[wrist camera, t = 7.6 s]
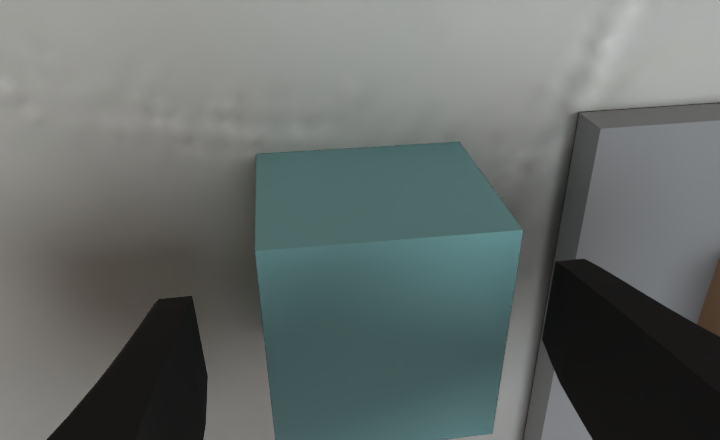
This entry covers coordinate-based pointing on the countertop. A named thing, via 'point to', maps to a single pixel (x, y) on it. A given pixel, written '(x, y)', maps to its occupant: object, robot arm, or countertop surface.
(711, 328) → the walnut brick
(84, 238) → the countertop surface
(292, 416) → the teal brick
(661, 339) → the robot arm
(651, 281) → the baseplate
